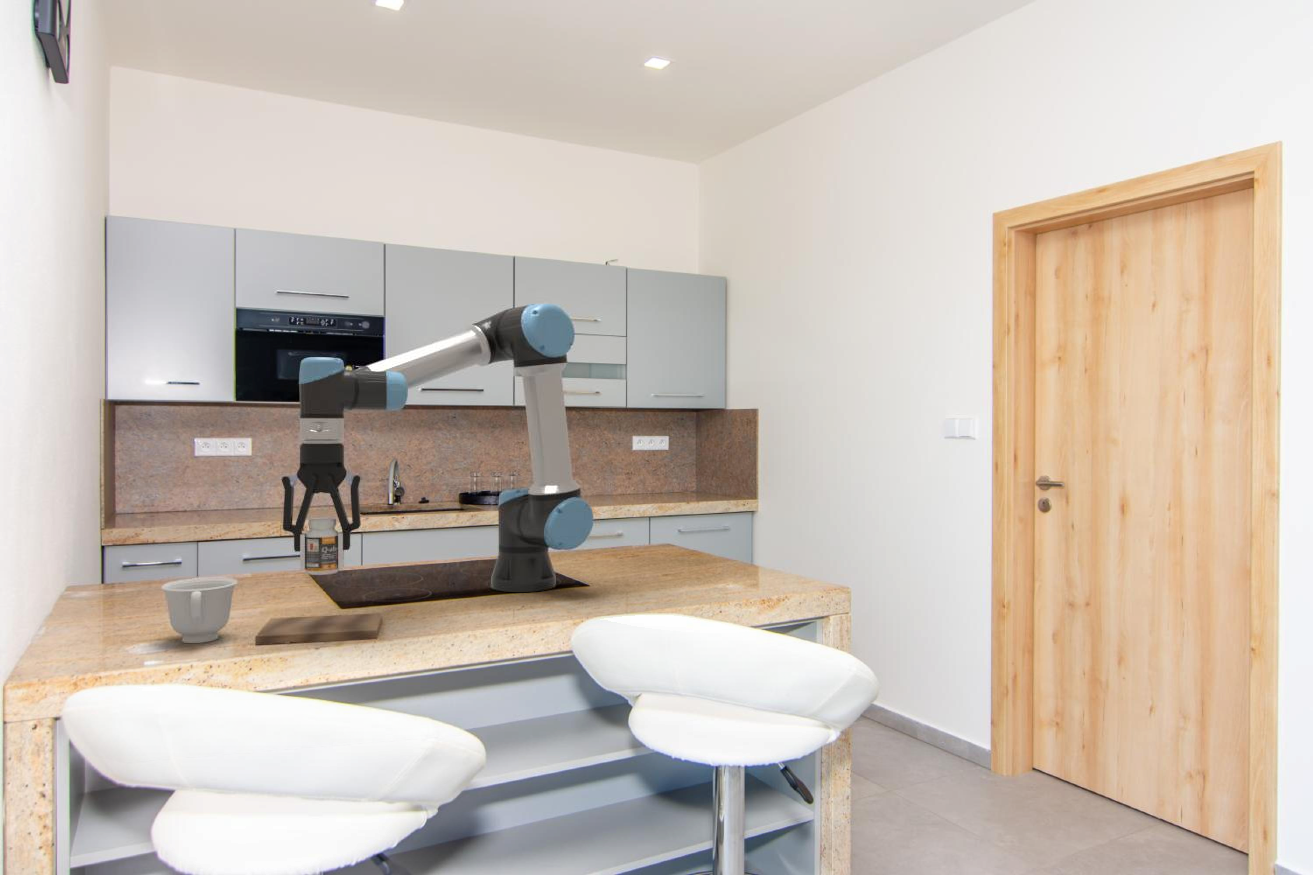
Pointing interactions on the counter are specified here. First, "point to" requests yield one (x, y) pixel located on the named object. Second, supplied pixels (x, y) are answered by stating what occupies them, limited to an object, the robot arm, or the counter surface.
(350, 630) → the walnut board
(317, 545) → the pill bottle
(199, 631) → the teacup
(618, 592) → the counter surface
